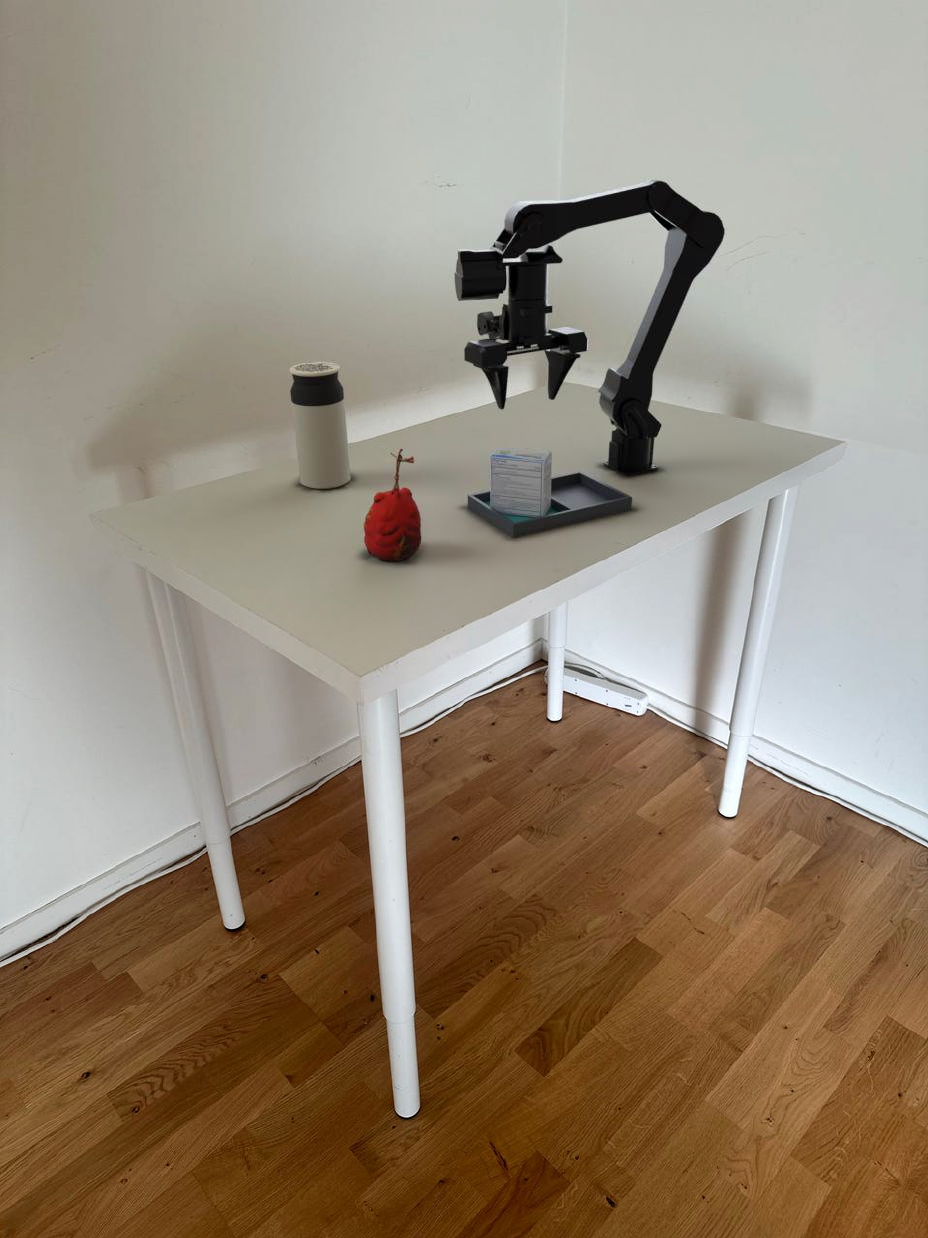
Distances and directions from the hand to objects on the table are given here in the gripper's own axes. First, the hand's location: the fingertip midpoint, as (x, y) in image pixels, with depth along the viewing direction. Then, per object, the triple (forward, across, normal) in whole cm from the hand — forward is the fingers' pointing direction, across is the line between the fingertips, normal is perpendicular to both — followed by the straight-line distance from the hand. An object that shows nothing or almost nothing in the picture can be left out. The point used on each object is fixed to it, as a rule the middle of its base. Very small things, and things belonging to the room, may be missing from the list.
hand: (526, 403), depth 139 cm
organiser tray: (+12, +5, +13) cm, 18 cm away
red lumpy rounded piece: (+12, +31, +15) cm, 36 cm away
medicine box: (+11, +9, +13) cm, 20 cm away
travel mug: (+12, +28, -16) cm, 34 cm away
